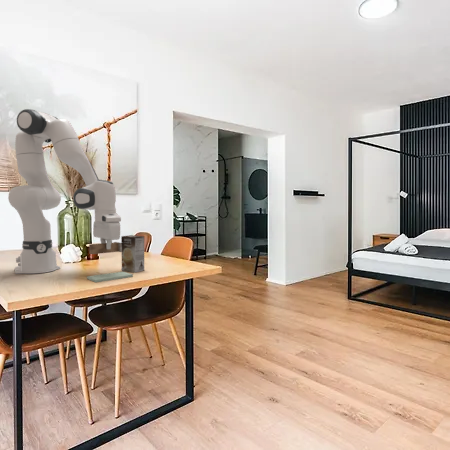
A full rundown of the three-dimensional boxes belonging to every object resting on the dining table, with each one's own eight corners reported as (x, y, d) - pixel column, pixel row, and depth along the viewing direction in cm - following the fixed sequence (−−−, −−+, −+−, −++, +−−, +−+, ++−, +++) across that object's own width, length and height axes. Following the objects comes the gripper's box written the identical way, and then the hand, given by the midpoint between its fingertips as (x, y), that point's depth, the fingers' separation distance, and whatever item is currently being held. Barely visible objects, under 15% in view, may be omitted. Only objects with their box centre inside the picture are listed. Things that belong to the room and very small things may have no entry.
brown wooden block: (93, 254, 149) (93, 245, 149) (87, 253, 154) (87, 244, 154) (121, 251, 158) (121, 242, 158) (115, 250, 162) (115, 241, 162)
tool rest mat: (86, 278, 147) (86, 276, 147) (123, 273, 158) (123, 271, 158) (95, 282, 141) (95, 279, 140) (132, 276, 151) (132, 274, 151)
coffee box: (120, 270, 165) (120, 236, 164) (131, 268, 171) (130, 235, 170) (135, 272, 160) (134, 237, 159) (145, 270, 166) (144, 236, 165)
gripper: (89, 216, 161) (90, 247, 162) (108, 218, 146) (109, 251, 147) (102, 216, 165) (103, 246, 166) (122, 217, 150) (123, 250, 151)
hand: (106, 248), depth 156 cm, fingers closed on brown wooden block, 2 cm apart
